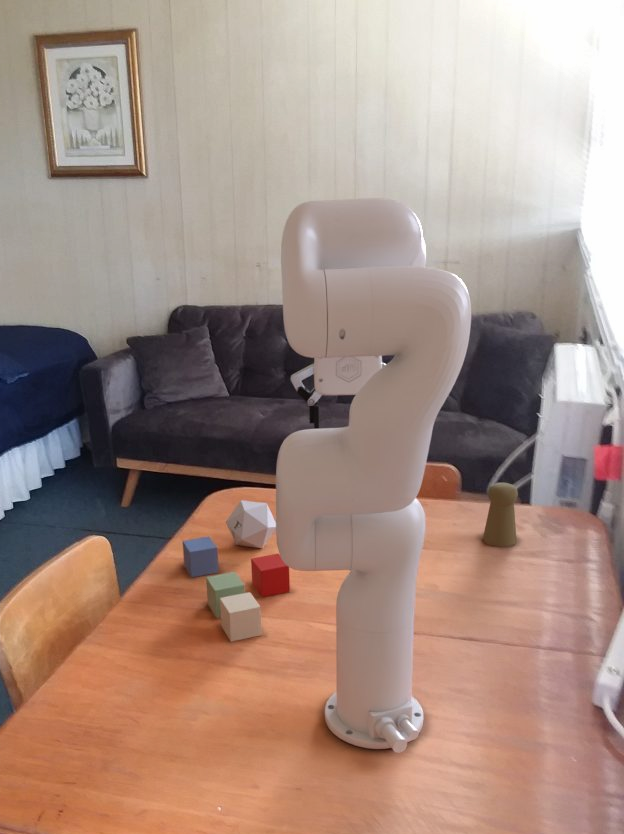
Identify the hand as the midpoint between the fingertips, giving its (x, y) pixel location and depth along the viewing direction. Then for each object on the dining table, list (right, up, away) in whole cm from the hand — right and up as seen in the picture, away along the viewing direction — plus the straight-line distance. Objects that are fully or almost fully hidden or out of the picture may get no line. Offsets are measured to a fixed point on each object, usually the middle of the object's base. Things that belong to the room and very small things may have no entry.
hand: (347, 427), depth 130 cm
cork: (+32, -20, +26) cm, 46 cm away
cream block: (-16, -32, 0) cm, 36 cm away
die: (-14, -21, +29) cm, 39 cm away
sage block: (-19, -29, +6) cm, 35 cm away
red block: (-11, -27, +12) cm, 32 cm away
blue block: (-24, -25, +20) cm, 40 cm away
